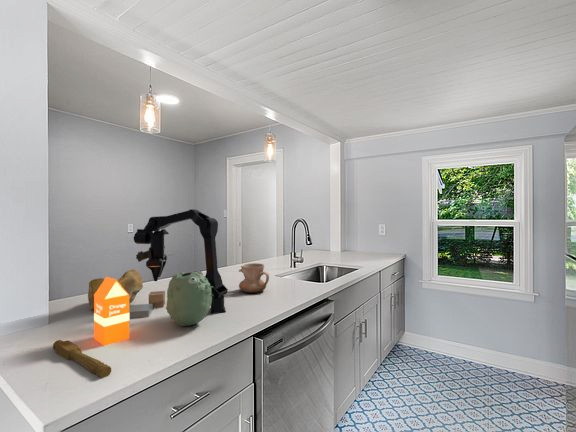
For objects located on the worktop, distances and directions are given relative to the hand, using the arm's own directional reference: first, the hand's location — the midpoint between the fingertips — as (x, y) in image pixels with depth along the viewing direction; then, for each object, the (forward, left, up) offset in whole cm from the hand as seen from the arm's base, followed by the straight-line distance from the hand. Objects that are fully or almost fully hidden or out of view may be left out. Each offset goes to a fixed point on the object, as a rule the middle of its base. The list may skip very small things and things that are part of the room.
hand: (157, 279), depth 137 cm
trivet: (-10, +6, -12) cm, 17 cm away
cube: (0, 0, -12) cm, 12 cm away
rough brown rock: (+8, +20, -12) cm, 25 cm away
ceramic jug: (+15, -46, -12) cm, 50 cm away
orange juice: (-35, +9, -12) cm, 38 cm away
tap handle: (-50, +13, -13) cm, 53 cm away
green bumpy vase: (-28, -15, -12) cm, 34 cm away
